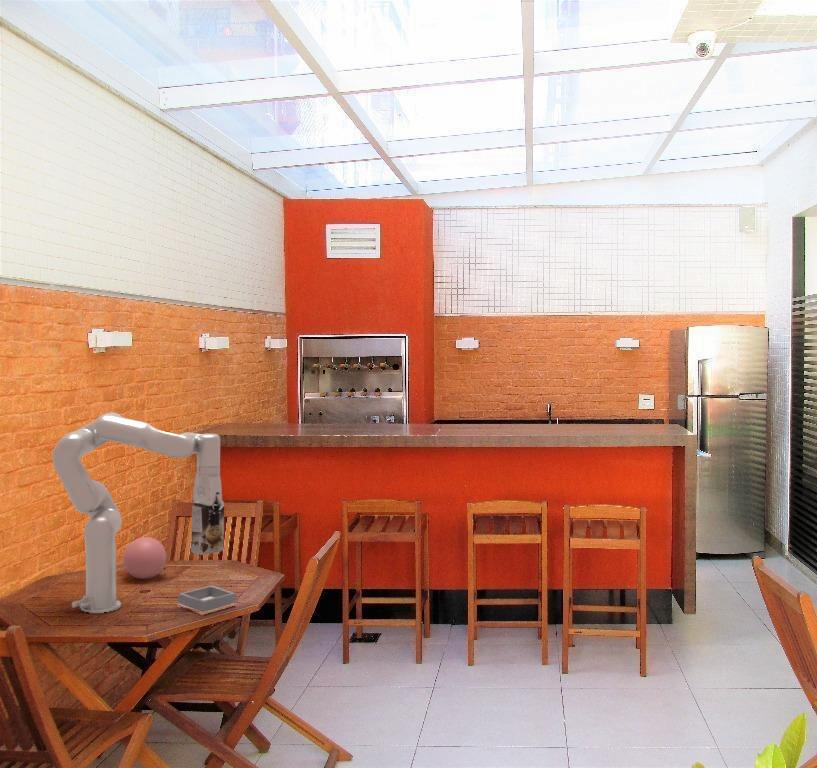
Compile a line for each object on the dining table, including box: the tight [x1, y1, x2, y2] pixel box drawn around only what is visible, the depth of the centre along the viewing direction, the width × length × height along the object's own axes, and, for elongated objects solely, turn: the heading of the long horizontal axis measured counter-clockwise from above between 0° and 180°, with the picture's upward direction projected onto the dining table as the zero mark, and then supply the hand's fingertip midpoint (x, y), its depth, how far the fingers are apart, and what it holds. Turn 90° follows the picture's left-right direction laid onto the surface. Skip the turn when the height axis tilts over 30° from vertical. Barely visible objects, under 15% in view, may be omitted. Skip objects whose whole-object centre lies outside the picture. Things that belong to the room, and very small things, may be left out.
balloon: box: [122, 536, 167, 580], centre depth 322 cm, size 15×20×15 cm
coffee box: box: [190, 504, 225, 556], centre depth 288 cm, size 9×6×16 cm
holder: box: [178, 584, 237, 612], centre depth 289 cm, size 13×13×4 cm
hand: (207, 523), depth 288 cm, fingers closed on coffee box, 6 cm apart
